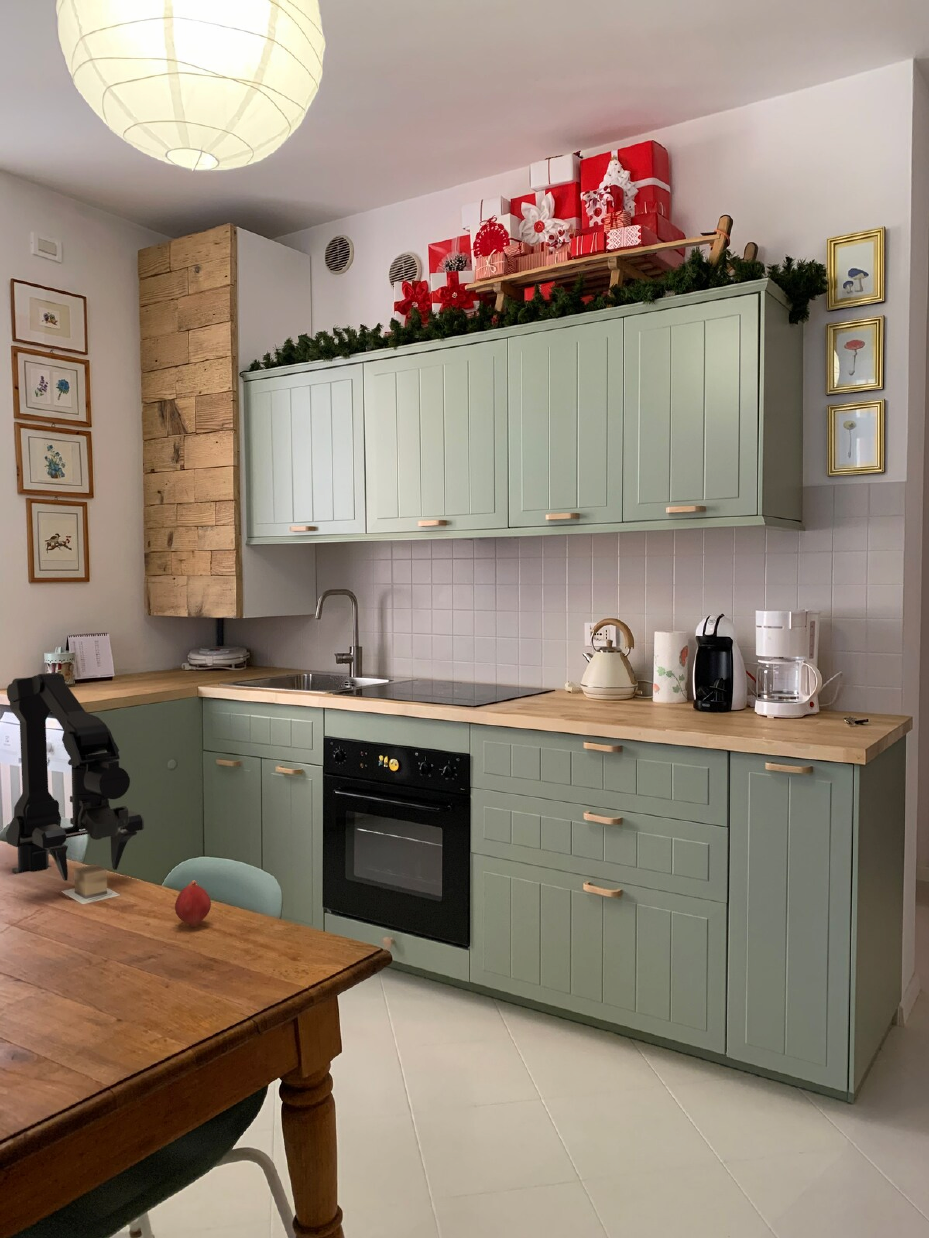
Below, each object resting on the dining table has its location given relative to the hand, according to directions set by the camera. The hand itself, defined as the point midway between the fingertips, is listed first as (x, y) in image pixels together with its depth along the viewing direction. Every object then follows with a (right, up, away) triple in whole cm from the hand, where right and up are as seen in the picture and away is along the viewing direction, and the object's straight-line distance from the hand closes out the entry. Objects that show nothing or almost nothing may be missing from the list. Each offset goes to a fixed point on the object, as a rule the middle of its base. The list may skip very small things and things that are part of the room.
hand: (90, 874), depth 174 cm
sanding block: (0, -4, 0) cm, 4 cm away
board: (0, -5, 0) cm, 5 cm away
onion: (+23, -5, -15) cm, 28 cm away
